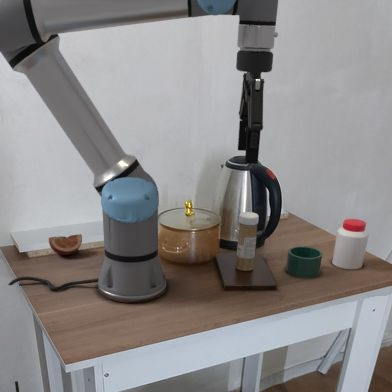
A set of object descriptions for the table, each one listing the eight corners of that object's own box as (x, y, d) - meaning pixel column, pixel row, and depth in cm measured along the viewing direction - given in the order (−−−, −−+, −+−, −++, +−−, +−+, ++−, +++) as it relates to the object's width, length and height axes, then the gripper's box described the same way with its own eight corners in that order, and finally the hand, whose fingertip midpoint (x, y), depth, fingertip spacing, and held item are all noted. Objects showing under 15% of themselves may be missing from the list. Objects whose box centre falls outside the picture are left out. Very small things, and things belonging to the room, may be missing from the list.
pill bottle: (360, 259, 146) (368, 218, 141) (364, 270, 140) (373, 228, 134) (330, 257, 147) (337, 216, 141) (333, 268, 140) (341, 226, 135)
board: (224, 290, 127) (225, 285, 126) (215, 257, 144) (215, 253, 143) (276, 290, 128) (276, 285, 127) (260, 257, 145) (261, 253, 144)
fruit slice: (79, 248, 146) (78, 229, 144) (86, 256, 141) (85, 238, 139) (47, 252, 143) (45, 233, 141) (54, 261, 138) (52, 242, 136)
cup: (290, 278, 134) (292, 258, 132) (283, 264, 141) (285, 246, 139) (323, 277, 135) (326, 258, 132) (314, 264, 142) (317, 246, 139)
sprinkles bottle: (233, 265, 137) (237, 211, 130) (251, 264, 138) (256, 211, 131) (237, 272, 133) (241, 217, 126) (256, 271, 134) (261, 217, 127)
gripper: (284, 54, 104) (272, 170, 115) (264, 47, 125) (255, 145, 136) (244, 52, 103) (236, 169, 114) (231, 46, 125) (225, 145, 136)
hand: (247, 156), depth 125 cm, fingers open, 13 cm apart
